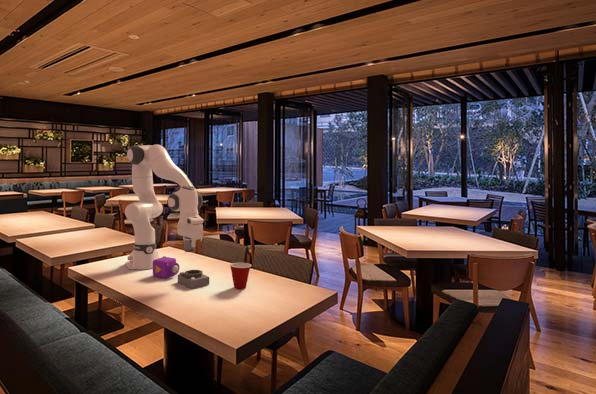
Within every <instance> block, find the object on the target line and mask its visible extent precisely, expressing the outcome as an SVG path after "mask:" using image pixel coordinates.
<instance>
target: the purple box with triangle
mask: <svg viewBox="0 0 596 394" xmlns="http://www.w3.org/2000/svg"><path fill="white" fill-rule="evenodd" d="M180 268H181V267H180V264H179V263H178V262H177V259H176V258H174V257H167V256H166V255H163V256H162V257H159V258H158V259H155V260H153V268H152V276H153V277H156V278H161V279H167V278H169V277H173V276H175V275H178V274H179V273H180Z"/></svg>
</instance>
